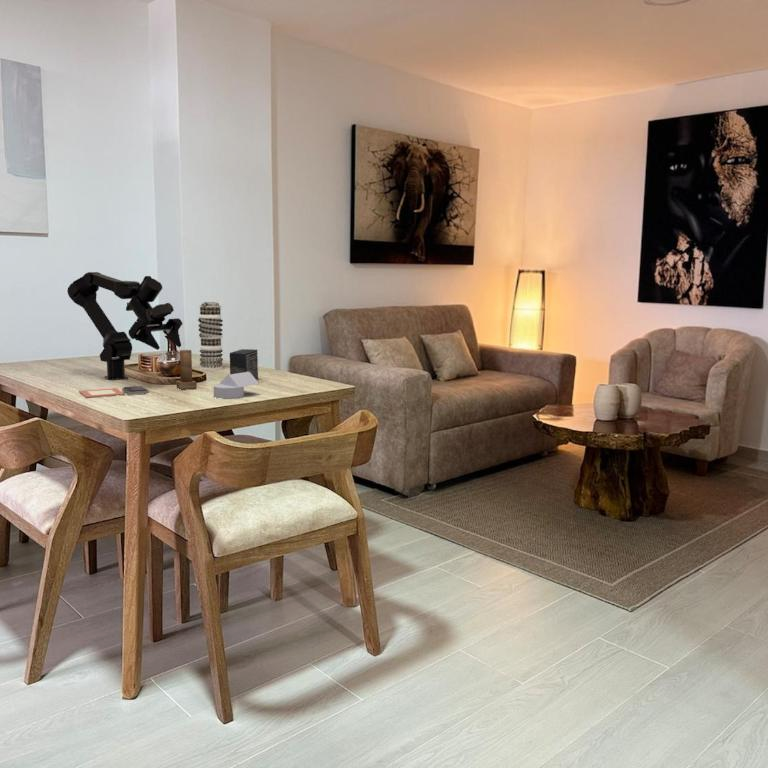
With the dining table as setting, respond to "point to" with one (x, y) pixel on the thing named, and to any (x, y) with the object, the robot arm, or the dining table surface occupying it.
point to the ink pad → (135, 390)
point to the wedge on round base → (234, 385)
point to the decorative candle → (210, 336)
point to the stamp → (186, 371)
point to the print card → (101, 393)
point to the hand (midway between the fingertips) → (169, 347)
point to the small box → (244, 362)
